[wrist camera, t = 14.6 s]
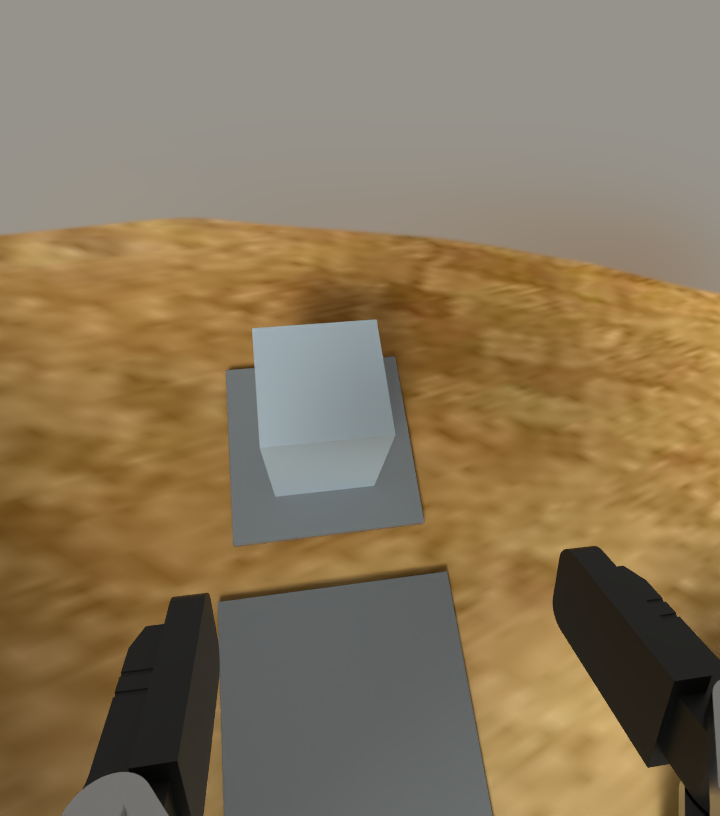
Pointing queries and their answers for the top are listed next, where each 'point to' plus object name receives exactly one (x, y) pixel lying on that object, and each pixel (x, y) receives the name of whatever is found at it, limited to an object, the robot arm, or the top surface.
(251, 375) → the gray plate with knob
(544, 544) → the top surface
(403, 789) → the mat
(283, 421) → the light gray block
